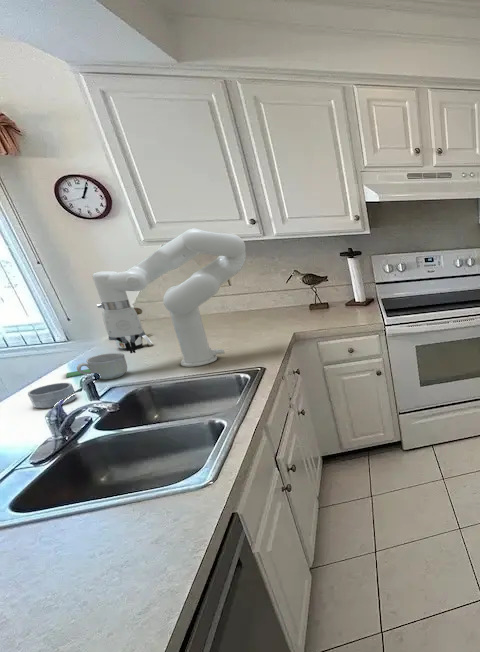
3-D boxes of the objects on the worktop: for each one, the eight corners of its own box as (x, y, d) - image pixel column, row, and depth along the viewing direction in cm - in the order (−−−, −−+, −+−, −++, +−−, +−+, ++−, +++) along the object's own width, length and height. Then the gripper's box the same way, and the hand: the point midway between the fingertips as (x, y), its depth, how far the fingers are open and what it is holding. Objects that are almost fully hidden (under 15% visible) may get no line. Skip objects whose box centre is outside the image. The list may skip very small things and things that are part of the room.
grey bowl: (77, 393, 143) (71, 380, 141) (76, 402, 136) (70, 389, 134) (36, 402, 137) (29, 388, 135) (33, 412, 130) (26, 398, 128)
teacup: (127, 369, 164) (120, 350, 161) (134, 375, 158) (126, 356, 155) (80, 379, 155) (71, 360, 151) (85, 387, 148) (76, 366, 145)
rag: (91, 369, 164) (91, 368, 164) (91, 373, 161) (91, 371, 160) (67, 374, 160) (66, 373, 159) (66, 378, 156) (66, 376, 156)
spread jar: (115, 349, 188) (105, 324, 184) (142, 342, 198) (134, 318, 194) (131, 352, 184) (122, 327, 180) (158, 344, 194) (150, 320, 190)
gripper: (89, 310, 145) (107, 359, 152) (143, 304, 155) (158, 350, 161) (89, 306, 150) (107, 354, 157) (141, 301, 160) (156, 346, 167)
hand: (132, 352), depth 159 cm, fingers closed
